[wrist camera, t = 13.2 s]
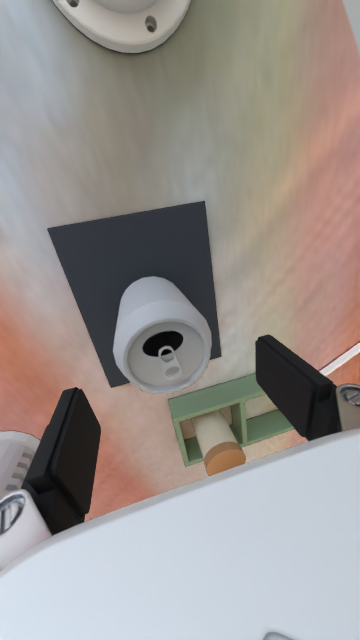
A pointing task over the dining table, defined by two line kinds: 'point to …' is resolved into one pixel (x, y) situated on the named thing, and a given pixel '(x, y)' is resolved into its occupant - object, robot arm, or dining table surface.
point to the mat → (136, 268)
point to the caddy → (236, 397)
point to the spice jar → (217, 442)
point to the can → (160, 337)
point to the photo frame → (341, 360)
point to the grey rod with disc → (15, 459)
